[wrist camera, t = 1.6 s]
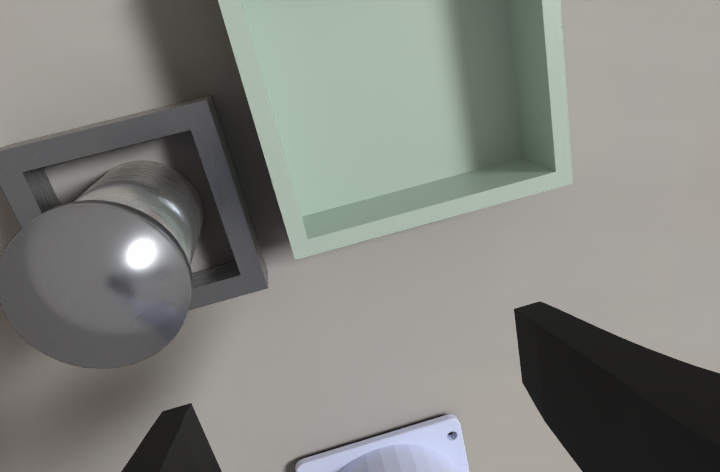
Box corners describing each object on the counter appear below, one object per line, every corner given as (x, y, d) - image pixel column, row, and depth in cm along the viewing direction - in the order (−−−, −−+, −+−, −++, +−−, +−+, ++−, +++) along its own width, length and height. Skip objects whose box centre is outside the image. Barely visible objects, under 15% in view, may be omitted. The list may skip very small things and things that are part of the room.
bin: (533, 164, 22) (573, 183, 19) (290, 230, 21) (295, 260, 18) (504, -124, 18) (549, -154, 15) (206, -57, 17) (195, -75, 14)
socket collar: (267, 271, 21) (267, 288, 20) (90, 320, 21) (78, 340, 19) (210, 95, 19) (206, 99, 17) (6, 145, 18) (-15, 154, 17)
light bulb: (227, 252, 21) (213, 341, 15) (110, 284, 20) (46, 388, 14) (187, 138, 19) (152, 185, 13) (59, 170, 19) (-39, 235, 13)
